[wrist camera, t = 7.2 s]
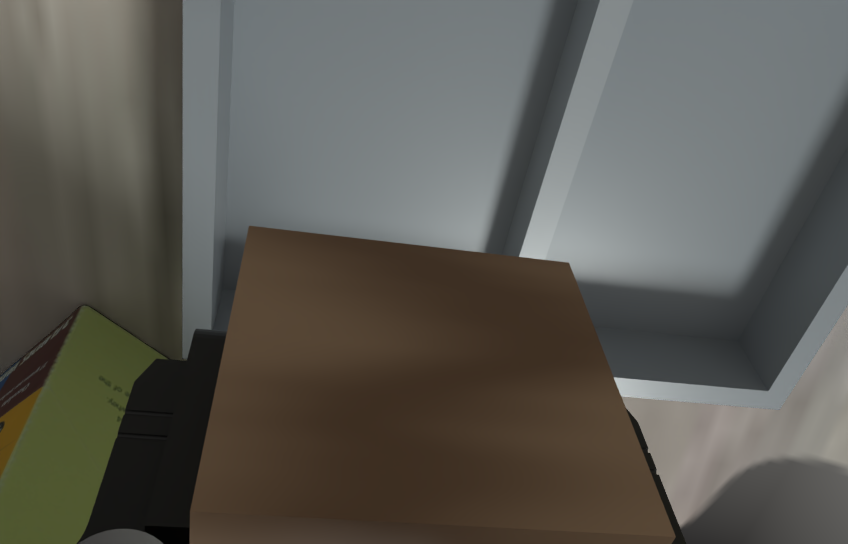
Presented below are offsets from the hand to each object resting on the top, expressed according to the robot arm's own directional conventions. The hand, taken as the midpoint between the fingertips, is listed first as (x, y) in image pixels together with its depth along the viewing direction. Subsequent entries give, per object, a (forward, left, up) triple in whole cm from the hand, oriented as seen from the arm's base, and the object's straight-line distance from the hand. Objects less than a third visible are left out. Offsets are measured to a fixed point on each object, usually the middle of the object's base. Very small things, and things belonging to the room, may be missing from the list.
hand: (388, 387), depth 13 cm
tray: (-5, 0, -11) cm, 12 cm away
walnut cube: (0, 0, -1) cm, 1 cm away
